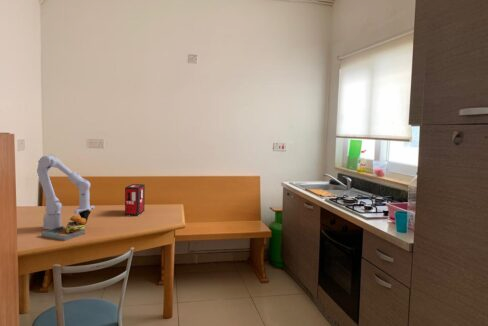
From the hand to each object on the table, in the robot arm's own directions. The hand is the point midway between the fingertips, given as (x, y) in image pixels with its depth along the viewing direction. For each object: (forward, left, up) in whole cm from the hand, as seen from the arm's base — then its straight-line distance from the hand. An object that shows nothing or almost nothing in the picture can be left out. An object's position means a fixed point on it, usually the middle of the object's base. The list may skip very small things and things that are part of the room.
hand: (84, 222), depth 227 cm
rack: (0, -16, -3) cm, 16 cm away
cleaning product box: (+3, +46, -4) cm, 46 cm away
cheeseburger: (0, -7, -4) cm, 8 cm away
